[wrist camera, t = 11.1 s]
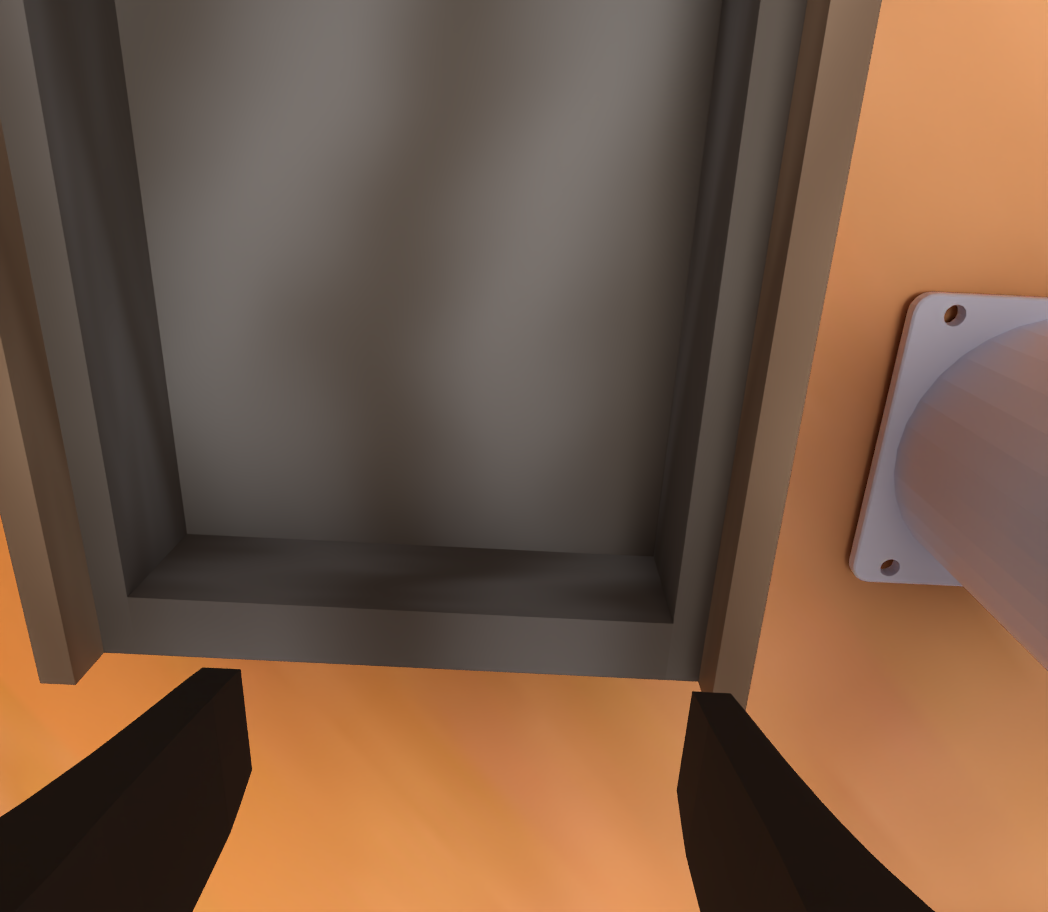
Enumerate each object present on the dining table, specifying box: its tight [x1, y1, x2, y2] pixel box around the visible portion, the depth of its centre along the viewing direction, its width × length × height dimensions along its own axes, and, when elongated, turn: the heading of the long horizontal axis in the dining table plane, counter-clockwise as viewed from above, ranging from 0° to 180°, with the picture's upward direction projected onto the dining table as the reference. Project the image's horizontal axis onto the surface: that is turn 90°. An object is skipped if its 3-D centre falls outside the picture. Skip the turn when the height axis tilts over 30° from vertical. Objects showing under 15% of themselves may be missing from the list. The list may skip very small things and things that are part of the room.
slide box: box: [0, 0, 882, 710], centre depth 16 cm, size 16×18×5 cm
